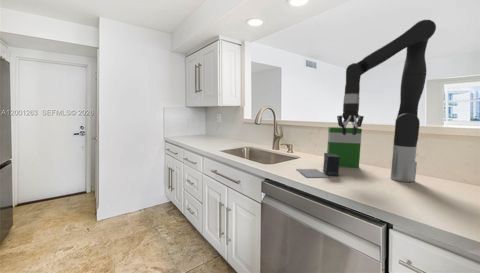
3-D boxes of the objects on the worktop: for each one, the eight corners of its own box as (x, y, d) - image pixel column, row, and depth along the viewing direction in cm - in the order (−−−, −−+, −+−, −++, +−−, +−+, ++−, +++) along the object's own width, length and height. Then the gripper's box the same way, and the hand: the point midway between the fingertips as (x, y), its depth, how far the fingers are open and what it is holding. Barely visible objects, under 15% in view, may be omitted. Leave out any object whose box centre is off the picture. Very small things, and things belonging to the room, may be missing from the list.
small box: (339, 176, 116) (340, 156, 114) (325, 175, 117) (327, 156, 116) (334, 171, 126) (335, 153, 125) (322, 170, 127) (323, 152, 126)
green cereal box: (355, 165, 143) (358, 127, 141) (358, 167, 136) (361, 128, 133) (326, 163, 147) (328, 127, 145) (328, 165, 140) (330, 127, 138)
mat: (316, 169, 129) (316, 169, 129) (329, 177, 113) (329, 176, 113) (296, 169, 128) (296, 169, 128) (306, 177, 112) (306, 176, 112)
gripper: (342, 102, 114) (339, 135, 116) (368, 102, 115) (366, 135, 117) (334, 102, 121) (332, 134, 123) (359, 103, 122) (357, 134, 124)
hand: (349, 134), depth 120 cm, fingers open, 5 cm apart
